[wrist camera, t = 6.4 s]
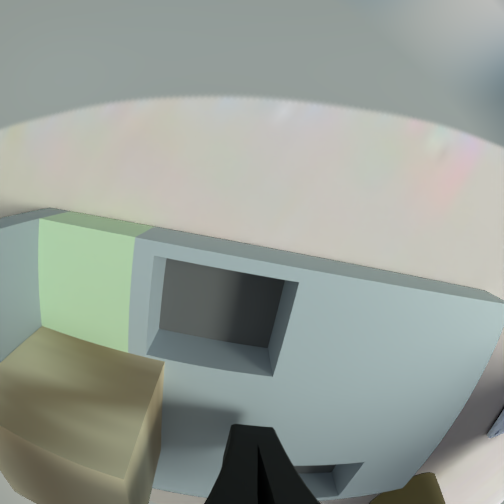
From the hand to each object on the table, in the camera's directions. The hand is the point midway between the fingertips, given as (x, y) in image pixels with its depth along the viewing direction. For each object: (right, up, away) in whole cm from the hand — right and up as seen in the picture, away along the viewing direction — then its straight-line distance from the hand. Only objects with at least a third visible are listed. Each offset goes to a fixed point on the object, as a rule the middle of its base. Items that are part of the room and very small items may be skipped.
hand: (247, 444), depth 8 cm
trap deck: (+1, 0, +3) cm, 3 cm away
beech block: (-5, +1, 0) cm, 5 cm away
